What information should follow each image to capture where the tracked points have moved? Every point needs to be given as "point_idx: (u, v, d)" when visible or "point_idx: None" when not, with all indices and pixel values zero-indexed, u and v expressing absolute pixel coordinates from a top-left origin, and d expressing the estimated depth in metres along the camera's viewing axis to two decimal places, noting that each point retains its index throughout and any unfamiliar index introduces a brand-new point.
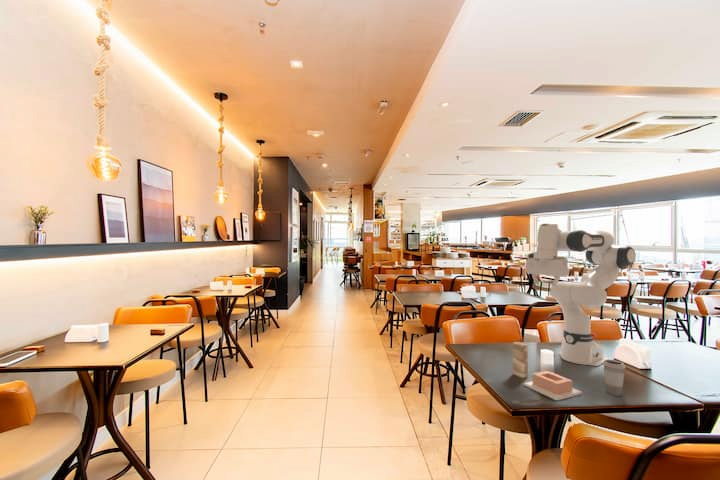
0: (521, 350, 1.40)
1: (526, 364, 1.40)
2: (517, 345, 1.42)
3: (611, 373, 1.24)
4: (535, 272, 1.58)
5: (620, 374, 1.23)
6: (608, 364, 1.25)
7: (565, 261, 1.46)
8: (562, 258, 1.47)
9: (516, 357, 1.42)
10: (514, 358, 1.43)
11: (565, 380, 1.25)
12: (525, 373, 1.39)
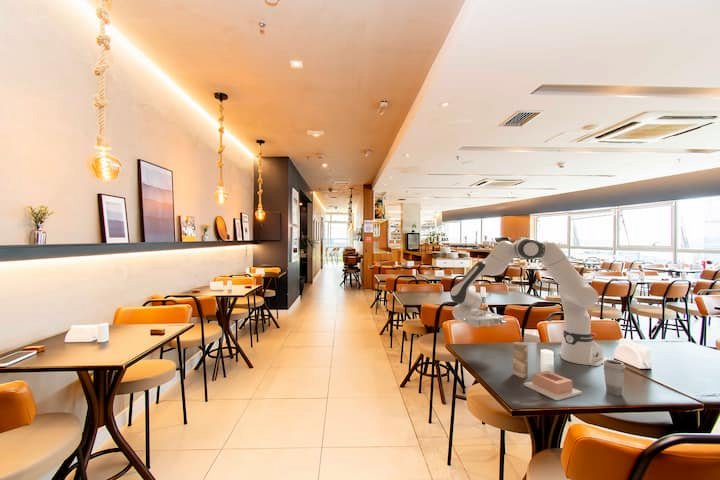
0: (521, 350, 1.40)
1: (526, 364, 1.40)
2: (517, 345, 1.42)
3: (611, 373, 1.24)
4: None
5: (620, 374, 1.23)
6: (608, 364, 1.25)
7: None
8: None
9: (516, 357, 1.42)
10: (514, 358, 1.43)
11: (565, 380, 1.25)
12: (525, 373, 1.39)
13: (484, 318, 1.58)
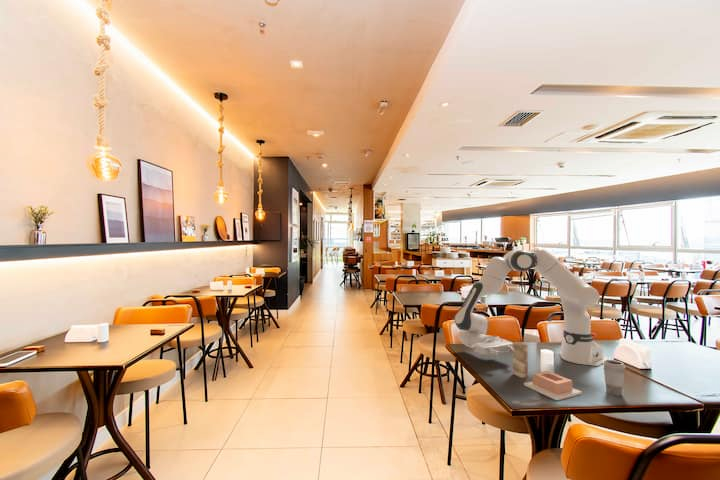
0: (521, 350, 1.40)
1: (526, 364, 1.40)
2: (517, 345, 1.42)
3: (611, 373, 1.24)
4: None
5: (620, 374, 1.23)
6: (608, 364, 1.25)
7: None
8: None
9: (516, 357, 1.42)
10: (514, 358, 1.43)
11: (565, 380, 1.25)
12: (525, 373, 1.39)
13: (493, 346, 1.53)
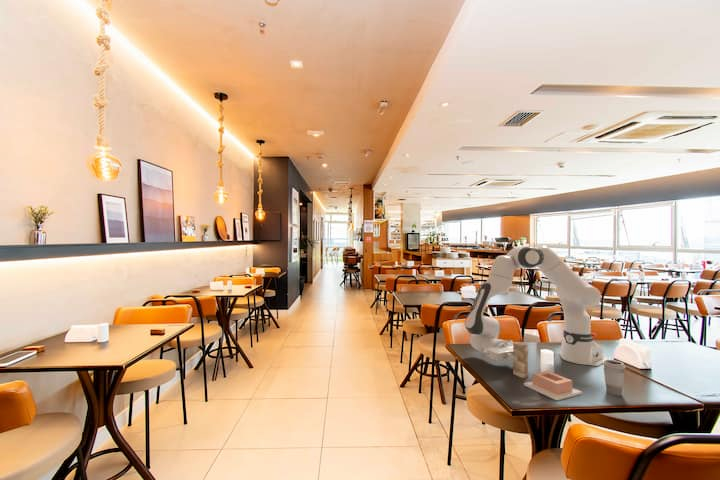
0: (521, 350, 1.40)
1: (526, 364, 1.40)
2: (517, 345, 1.42)
3: (611, 373, 1.24)
4: None
5: (620, 374, 1.23)
6: (608, 364, 1.25)
7: None
8: None
9: None
10: None
11: (565, 380, 1.25)
12: (525, 373, 1.39)
13: (507, 351, 1.45)
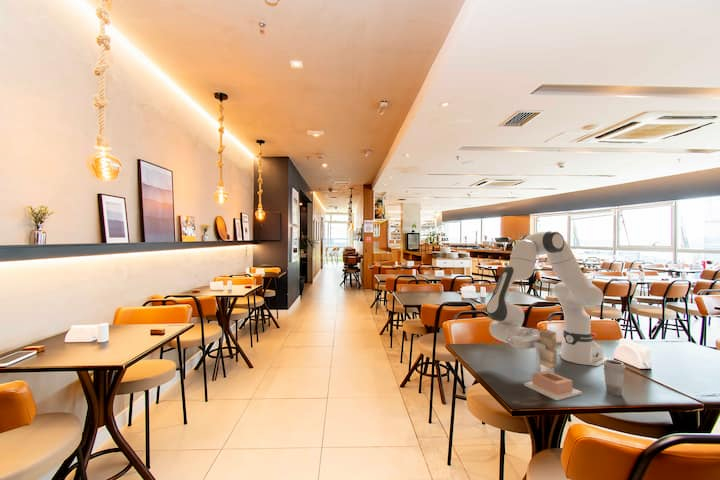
0: (549, 338, 1.27)
1: (555, 353, 1.28)
2: (544, 332, 1.29)
3: (611, 373, 1.24)
4: None
5: (620, 374, 1.23)
6: (608, 364, 1.25)
7: None
8: None
9: None
10: None
11: (565, 380, 1.25)
12: (554, 363, 1.27)
13: (533, 339, 1.32)
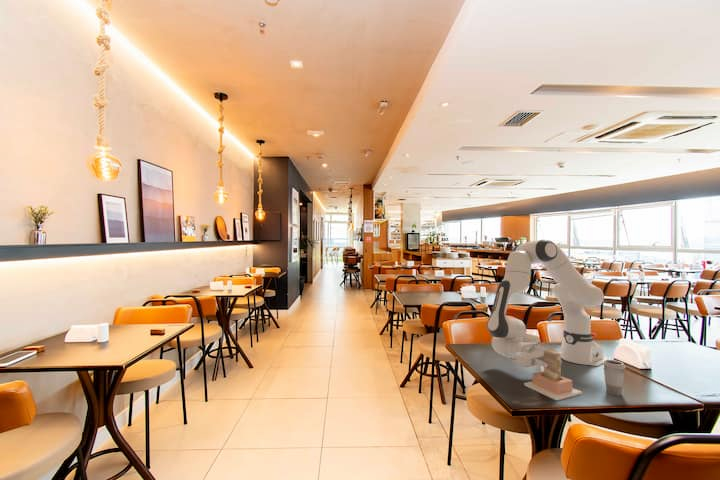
0: (554, 359, 1.26)
1: (559, 374, 1.26)
2: (549, 353, 1.28)
3: (611, 373, 1.24)
4: None
5: (620, 374, 1.23)
6: (608, 364, 1.25)
7: None
8: None
9: None
10: (545, 367, 1.29)
11: (565, 380, 1.25)
12: None
13: (537, 356, 1.31)
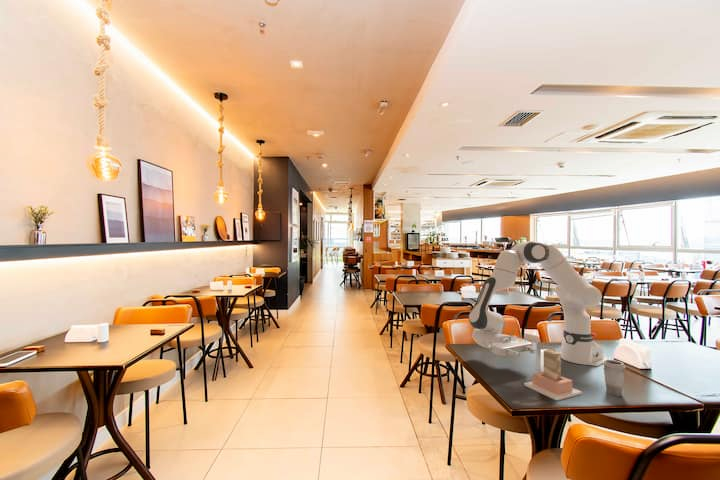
0: (553, 359, 1.26)
1: (559, 374, 1.26)
2: (549, 353, 1.28)
3: (611, 373, 1.24)
4: None
5: (620, 374, 1.23)
6: (608, 364, 1.25)
7: None
8: None
9: (548, 366, 1.28)
10: (545, 368, 1.29)
11: (565, 380, 1.25)
12: None
13: (511, 346, 1.43)
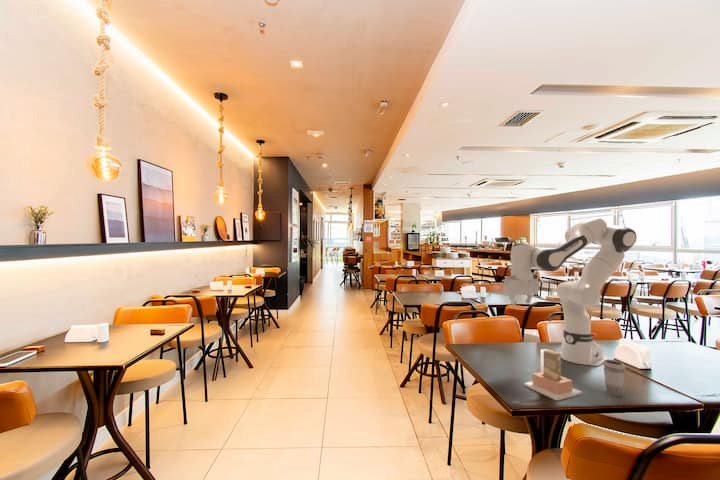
0: (553, 359, 1.26)
1: (559, 374, 1.26)
2: (549, 353, 1.28)
3: (611, 373, 1.24)
4: None
5: (620, 374, 1.23)
6: (608, 364, 1.25)
7: None
8: None
9: (548, 366, 1.28)
10: (545, 368, 1.29)
11: (565, 380, 1.25)
12: None
13: (519, 294, 1.53)
